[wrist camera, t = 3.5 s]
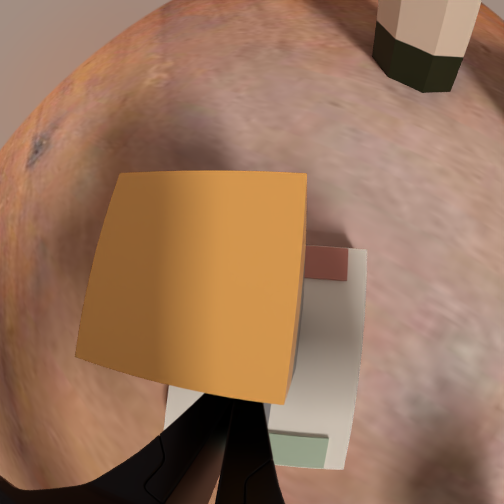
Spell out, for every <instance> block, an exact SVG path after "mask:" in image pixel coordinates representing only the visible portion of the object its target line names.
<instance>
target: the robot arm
mask: <svg viewBox="0 0 504 504" xmlns="http://www.w3.org/2000/svg"><path fill="white" fill-rule="evenodd" d="M220 472H221V473H220ZM219 475H220V478H219ZM218 478H219V484H218V490H217V495H216V501H215V504H285V502H284V499H283V496H282V493H281V490H280V487H279V483H278V479H277V474H276V470H275V464H274V460H273V454H272V448H271V442H270V437H269V431H268V425H267V420H266V414H265V408H264V403H262V402H255V401H248V400H242V399H236V398H230V397H224V396H218V395H213V394H208V393H204V394H203V395H202V396H201V397H200V398H199V399H198V400H197V401H195V402H194V403H193V404H192V405H191V406H190V407H189V408H188V409H187V410H186V411H185V412H184V413H183V414H181V415H180V416H179V417H178V418H177V419H176V420H175V421H174V422H173V423H172V424H170V425H169V426H168V427H167V428H166V429H165V430H164V431H163V432H162V433H160V436H159V435H158V436H157V437H156V438H155V439H153V440H152V441H151V442H150V443H149V444H148V445H146V446H145V447H144V448H143V449H141V450H140V451H139V452H138V453H136V454H135V455H133V456H132V457H130V458H129V459H127V460H126V461H124V462H123V463H121V464H120V465H118V466H117V467H115V468H113V469H112V470H110V471H109V472H107V473H105V474H104V475H102V476H100V477H99V478H97V479H95V480H93V481H91V482H88V483H86V484H82V485H78V486H71V487H63V488H53V489H42V490H22V489H18V488H17V487H15V486H14V485H13V484H11V483H10V482H9V481H7V480H6V479H5V478H3V477H2V476H0V504H208V502H209V500H210V498H211V495H212V493H213V490H214V488H215V485H216V483H217V480H218Z"/></svg>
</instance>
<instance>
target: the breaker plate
mask: <svg viewBox="0 0 504 504" xmlns="http://www.w3.org/2000/svg"><path fill="white" fill-rule="evenodd" d="M366 281H367V249H354V248H342V247H329V246H316V245H306V251H305V276H304V297H303V310H302V319H301V328H300V337H299V346H298V354H297V362H296V369H295V372H294V375H293V379H292V382H291V385H290V388H289V391H288V394H287V397H286V400H285V403H284V405H278V404H270V403H264V408H265V414H266V420H267V425H268V431H269V437H270V442H271V448H272V454H273V460H274V464H275V465H281V466H291V467H302V468H316V469H340V470H343V469H344V464H345V459H346V454H347V449H348V444H349V439H350V433H351V428H352V422H353V416H354V409H355V403H356V396H357V388H358V381H359V373H360V364H361V354H362V344H363V332H364V319H365V303H366ZM203 394H204V393H203V392H198V391H193V390H188V389H184V388H179V387H175V386H171V385H169V390H168V398H167V406H166V415H165V424H164V430H165V429H166V428H167V427H168V426H169V425H170V424H172V423H173V422H174V421H175V420H176V419H177V418H178V417H179V416H180V415H181V414H183V413H184V412H185V411H186V410H187V409H188V408H189V407H190V406H191V405H192V404H193V403H194V402H195V401H197V400H198V399H199V398H200V397H201V396H202V395H203Z"/></svg>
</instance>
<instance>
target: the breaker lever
mask: <svg viewBox="0 0 504 504" xmlns="http://www.w3.org/2000/svg"><path fill="white" fill-rule="evenodd" d="M306 212H307V173H289V172H264V171H154V172H130V173H120V174H119V177H118V180H117V182H116V185H115V188H114V191H113V194H112V197H111V200H110V203H109V207H108V210H107V213H106V216H105V220H104V223H103V226H102V230H101V233H100V237H99V241H98V244H97V248H96V252H95V256H94V260H93V264H92V268H91V272H90V276H89V281H88V285H87V290H86V295H85V300H84V305H83V310H82V315H81V321H80V327H79V333H78V339H77V346H76V353H75V357H77V358H80V359H83V360H85V361H88V362H91V363H94V364H97V365H100V366H103V367H106V368H109V369H113V370H116V371H119V372H122V373H126V374H129V375H133V376H136V377H140V378H144V379H147V380H151V381H155V382H159V383H163V384H167V385H171V386H175V387H179V388H184V389H188V390H193V391H198V392H203V393H208V394H213V395H218V396H224V397H230V398H236V399H242V400H248V401H255V402H262V403H270V404H278V405H284V403H285V400H286V397H287V394H288V391H289V388H290V385H291V382H292V379H293V375H294V372H295V369H296V362H297V354H298V346H299V337H300V328H301V319H302V310H303V297H304V276H305V251H306Z"/></svg>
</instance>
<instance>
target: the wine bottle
mask: <svg viewBox="0 0 504 504" xmlns="http://www.w3.org/2000/svg"><path fill="white" fill-rule="evenodd" d="M480 4H481V0H378V11H377V21H376V30H375V38H374V46H373V54H372V57H373V58H374V59H375V60H376V62H377V63H378V64H379V66H380V67H381V68H382V69H383V71H384V72H385V73H386V75H387V76H388V77H389V78H392V79H394V80H396V81H399V82H401V83H403V84H405V85H407V86H410V87H412V88H414V89H416V90H418V91H420V92H422V93H426V92H450V91H451V88H452V86H453V83H454V81H455V78H456V76H457V73H458V70H459V68H460V65H461V62H462V60H463V57H464V54H465V51H466V48H467V46H468V43H469V40H470V37H471V34H472V31H473V27H474V24H475V21H476V18H477V14H478V11H479V7H480Z"/></svg>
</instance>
